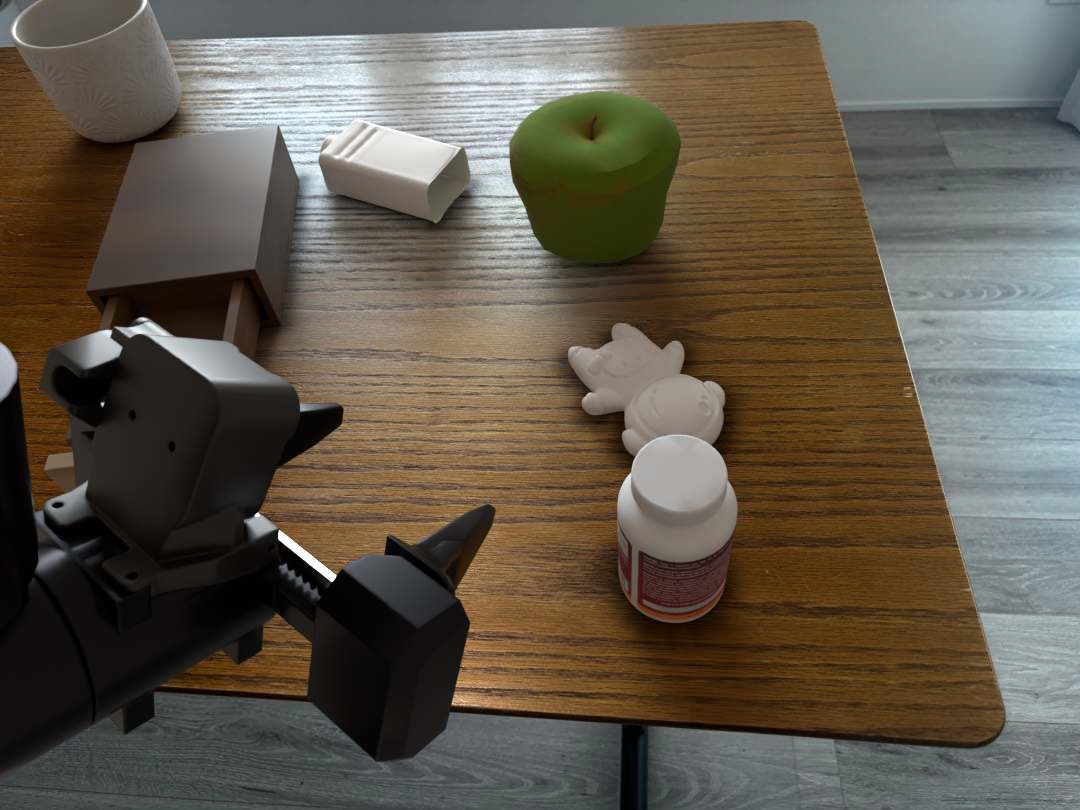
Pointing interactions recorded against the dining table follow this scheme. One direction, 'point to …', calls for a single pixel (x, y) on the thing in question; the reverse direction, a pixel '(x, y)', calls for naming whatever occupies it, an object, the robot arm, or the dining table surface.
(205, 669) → the dining table surface
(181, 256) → the cabinet
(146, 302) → the drawer
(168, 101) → the planter
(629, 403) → the white cartoon figurine
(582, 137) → the apple
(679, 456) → the pill bottle
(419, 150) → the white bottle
